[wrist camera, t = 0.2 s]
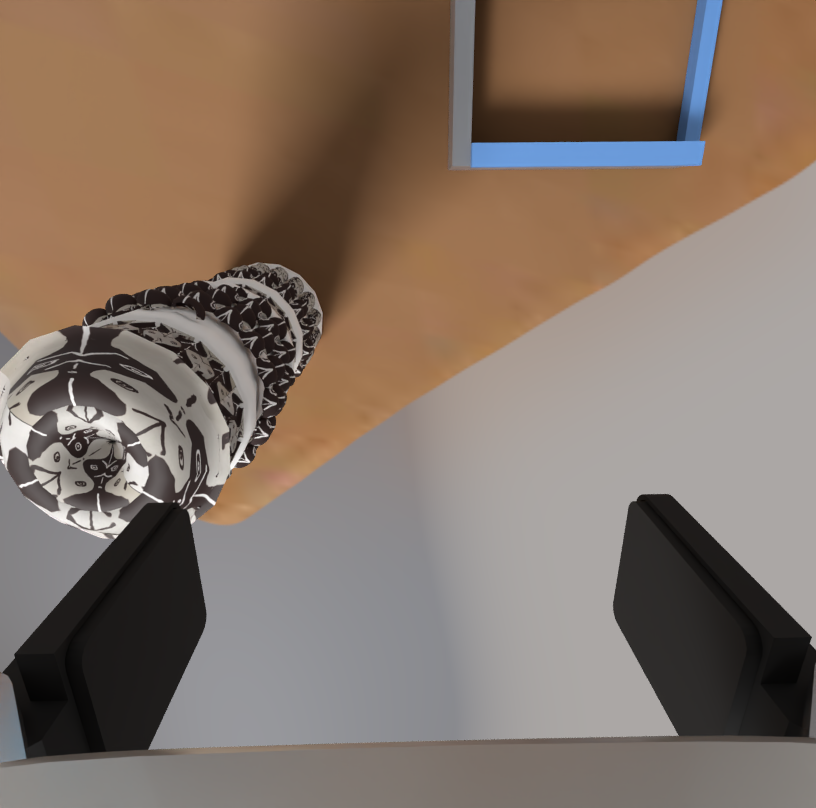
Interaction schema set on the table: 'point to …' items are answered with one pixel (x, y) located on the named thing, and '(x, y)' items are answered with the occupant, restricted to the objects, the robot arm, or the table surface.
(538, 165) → the comb organiser
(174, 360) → the white patterned tower
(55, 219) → the table surface
